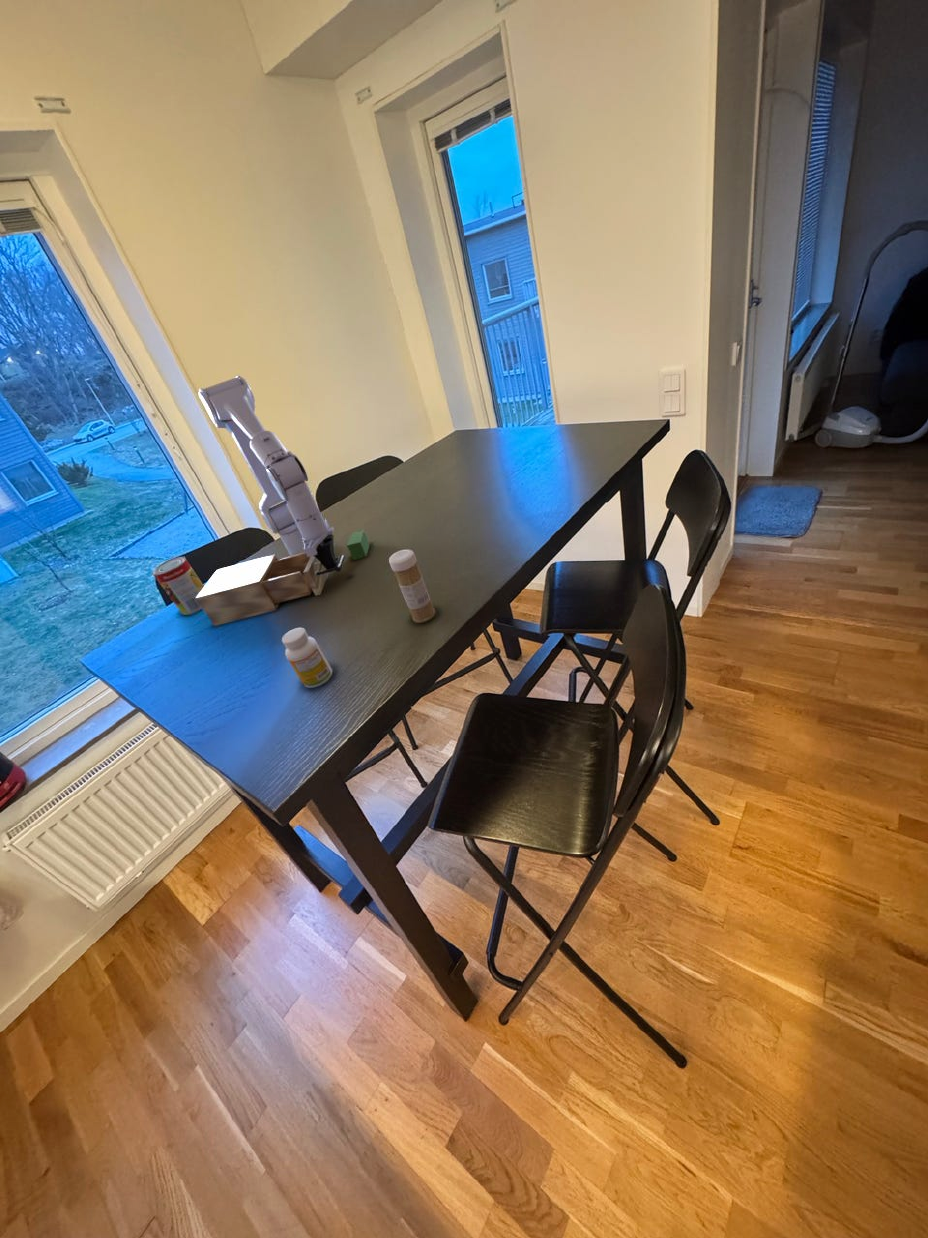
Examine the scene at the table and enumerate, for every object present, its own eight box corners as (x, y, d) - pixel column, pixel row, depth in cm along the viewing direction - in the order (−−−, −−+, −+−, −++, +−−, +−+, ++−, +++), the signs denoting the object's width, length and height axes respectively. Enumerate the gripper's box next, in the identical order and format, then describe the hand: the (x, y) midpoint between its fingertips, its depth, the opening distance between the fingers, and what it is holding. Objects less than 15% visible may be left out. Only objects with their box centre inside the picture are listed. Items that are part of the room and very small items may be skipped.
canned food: (206, 593, 127) (179, 554, 121) (216, 600, 122) (189, 560, 115) (177, 610, 124) (148, 570, 117) (186, 618, 118) (156, 577, 112)
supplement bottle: (306, 671, 87) (281, 629, 81) (335, 663, 86) (311, 621, 81) (301, 692, 82) (273, 649, 77) (330, 684, 82) (305, 640, 77)
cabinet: (290, 581, 120) (275, 553, 115) (276, 610, 109) (259, 581, 105) (234, 596, 122) (216, 569, 117) (214, 626, 111) (194, 598, 106)
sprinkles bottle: (430, 606, 94) (408, 545, 86) (439, 616, 90) (417, 553, 82) (409, 616, 93) (384, 556, 85) (417, 627, 89) (393, 565, 81)
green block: (357, 547, 126) (351, 533, 124) (369, 544, 125) (363, 529, 123) (353, 560, 120) (346, 545, 118) (366, 556, 120) (360, 542, 117)
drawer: (352, 563, 117) (342, 540, 113) (344, 588, 107) (333, 564, 104) (275, 583, 119) (263, 561, 116) (261, 609, 110) (247, 587, 106)
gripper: (317, 524, 97) (343, 580, 105) (330, 497, 109) (353, 549, 117) (284, 532, 98) (313, 588, 105) (301, 505, 110) (326, 557, 117)
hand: (332, 568), depth 111 cm, fingers closed
